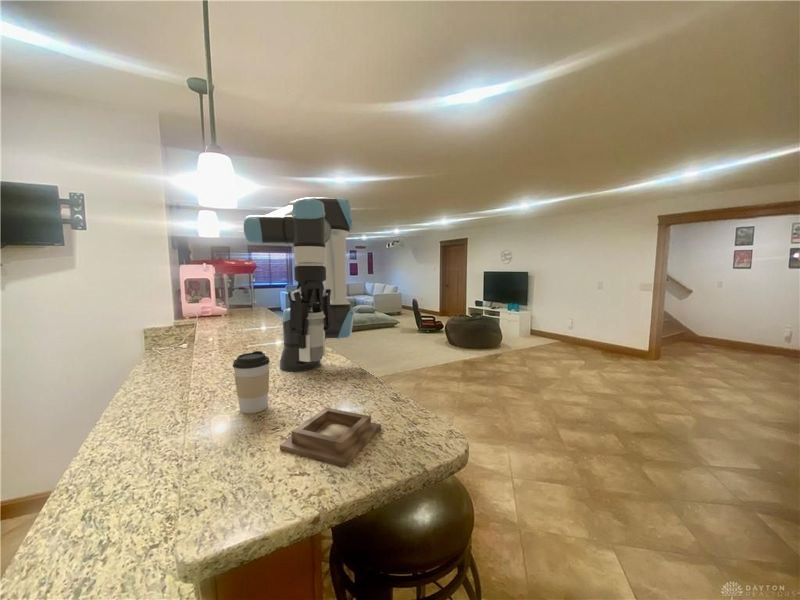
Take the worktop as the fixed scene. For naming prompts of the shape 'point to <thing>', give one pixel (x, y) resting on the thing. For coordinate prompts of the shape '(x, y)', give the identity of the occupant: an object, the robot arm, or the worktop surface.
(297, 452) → the holder
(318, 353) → the cup
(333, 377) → the worktop surface
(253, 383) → the coffee cup
